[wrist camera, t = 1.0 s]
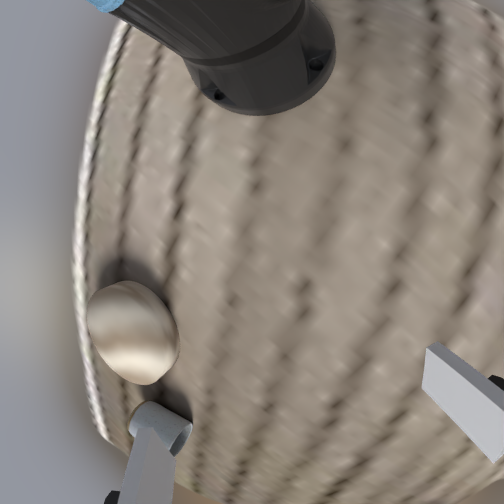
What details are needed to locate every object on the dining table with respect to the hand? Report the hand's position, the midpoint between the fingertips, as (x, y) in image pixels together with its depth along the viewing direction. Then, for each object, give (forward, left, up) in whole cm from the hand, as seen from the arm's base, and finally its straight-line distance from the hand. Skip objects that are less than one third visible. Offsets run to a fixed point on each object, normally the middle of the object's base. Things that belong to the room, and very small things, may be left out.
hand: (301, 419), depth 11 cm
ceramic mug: (+19, -27, -17) cm, 37 cm away
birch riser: (+2, -26, -17) cm, 31 cm away
